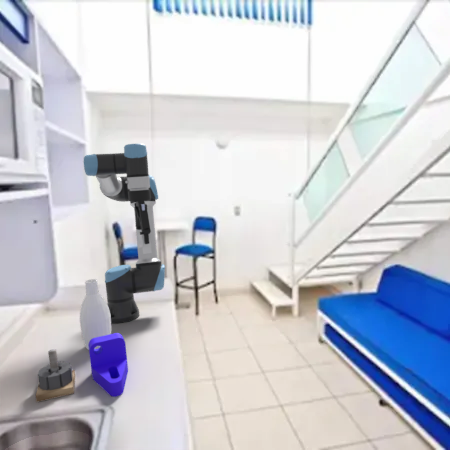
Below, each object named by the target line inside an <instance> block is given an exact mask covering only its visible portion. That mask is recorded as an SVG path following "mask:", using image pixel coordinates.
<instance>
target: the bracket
mask: <svg viewBox="0 0 450 450" xmlns="http://www.w3.org/2000/svg"><path fill="white" fill-rule="evenodd" d="M88 346H89V350H88V354H89V362H90V369H91V372H90V373H91V377H92V380H93V381H94V382H95V383H96V384H97V385H98V386H99V387H101V389H102V390H103V391H105V392H106V393H107V394H108V395H110V396H111V397H114V398H116V397H119V396H121V395H123V393H124V391H125V385H126V382H127V377H128V372H129V365H128V355H127V349H126V348H127V346H126V341H125V339H124V336H123V335H122V334H121V333H119V332H114V333H111V334H109V335H105V336H100V337H96V338H93V339H91V340H90V342H89V344H88ZM96 346H100V348H98V349H94V348H95V347H96Z"/></svg>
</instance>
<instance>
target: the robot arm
mask: <svg viewBox="0 0 450 450" xmlns="http://www.w3.org/2000/svg"><path fill="white" fill-rule="evenodd" d="M148 161H149V160H148V151H147V146H146V145H145V144H144V143H128V144H125V145H124V147H123V152H120V153H119V152H118V153H117V152H116V153H93V154H86V155H84V156H83V168H84V169H83V170H84V173H85V175H86V176H88V177H95V178H96V180H97V182H98V183H99V189H100V192H101V193H102V194H103V195H104V197H106V198H108V199H110V200H113V201H116V202H124V203H125V202H129V203H130V206H131V207H132V208H133V210H134V221H135V222H134V223H135V233H136V235H135V236H136V246H137V254H138V255H137V256H138V257H137V258H138V259H137V261H136V262H135V267H132V266H131V265H130V264H121V265H118V266H113V267H112V268H109V269H108V270H106V271H105V272H104V283H105V290H106V291H105V293H106V303H107V305H108V307H109V311H110V314H111V324H120V323H127V322H131V321H133V320H136V319H137V318H138V317H139V316H140V309H139V307H138V305H137V302H136V300H135V297H134V294H139V293H148V292H149V293H150V292H157V291H161V290H163V289H164V287H165V275H166V274H165V269H166V266H165V264H164V263H162V260H161V259H159V257H158V250H157V240H156V238H157V237H156V227H155V215H154V207H155V205H156V203H157V202H156V200H158V199H159V194H158V188H157V185H156V181H155V177H154V176H153V175H150V174H149V162H148ZM118 175H126V176H118Z"/></svg>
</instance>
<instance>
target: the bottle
mask: <svg viewBox="0 0 450 450" xmlns="http://www.w3.org/2000/svg"><path fill="white" fill-rule="evenodd" d="M84 284H85V296H84V299H83V300H82V302H81V306H80V311H79V324H80V331H81V332H80V333H81V336H82V340H83V343H84V347H85V349H87V350H88V351H89V346H88V344H89V342H90V340H91V339H93V338H96V337H100V336H105V335H109V334H112V323H111V314H110V311H109V307H108V305H107V303H108V302H107V300H106V299H105V298H104V297H103V295H102V294H101V292H100V290H99V284H98V279H96V278H93V279H92V278H91V279H88V280H85V281H84ZM98 348H100V346H96V347H95V348H94V349H98Z"/></svg>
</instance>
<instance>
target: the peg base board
mask: <svg viewBox="0 0 450 450" xmlns="http://www.w3.org/2000/svg"><path fill="white" fill-rule="evenodd" d="M48 360H49V365H50V369H51V373H53V372H57V371H59V367H58V362H59V361H58V354H57V349H55V348H53V349H49V350H48ZM75 370H76V369H72V375H73V376H72V381H71V382H70V383H68V384H67V385H65V386H64V387H61V388H58V389H53V390H44V389H40V388H39V384H38V386H37V390H36V392H35V400H36V403H39V402H43V401H46V400H51V399H52V400H53V399H54V398H55V399H57V398H60V397H65V396H69V395H73V394H75V387H76V385H75V383H76V371H75Z"/></svg>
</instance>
